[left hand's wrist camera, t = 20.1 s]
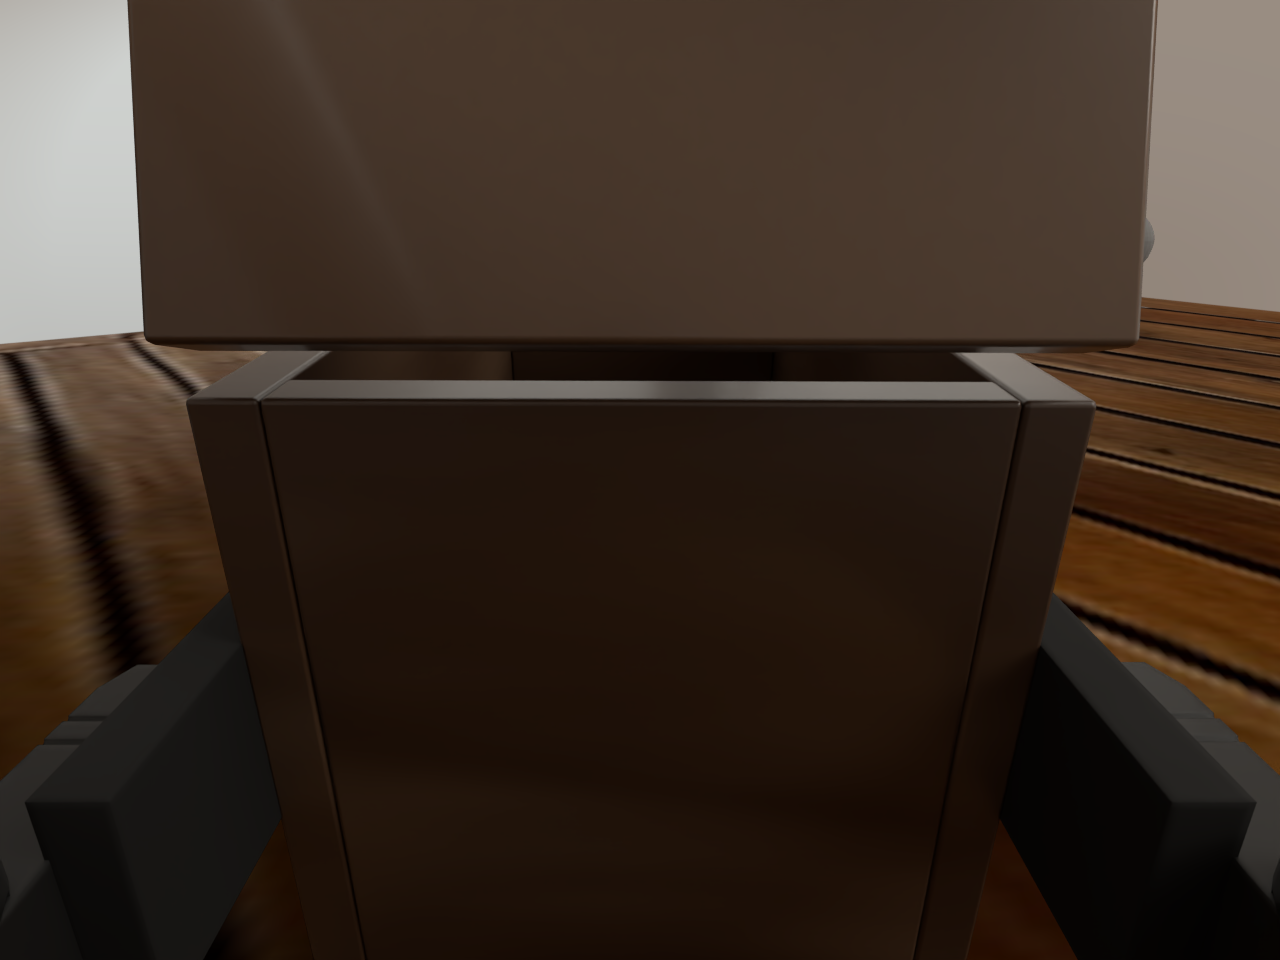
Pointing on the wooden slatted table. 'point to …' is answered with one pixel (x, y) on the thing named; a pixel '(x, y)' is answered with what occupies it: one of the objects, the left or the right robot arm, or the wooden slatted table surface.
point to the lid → (642, 174)
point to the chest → (640, 640)
